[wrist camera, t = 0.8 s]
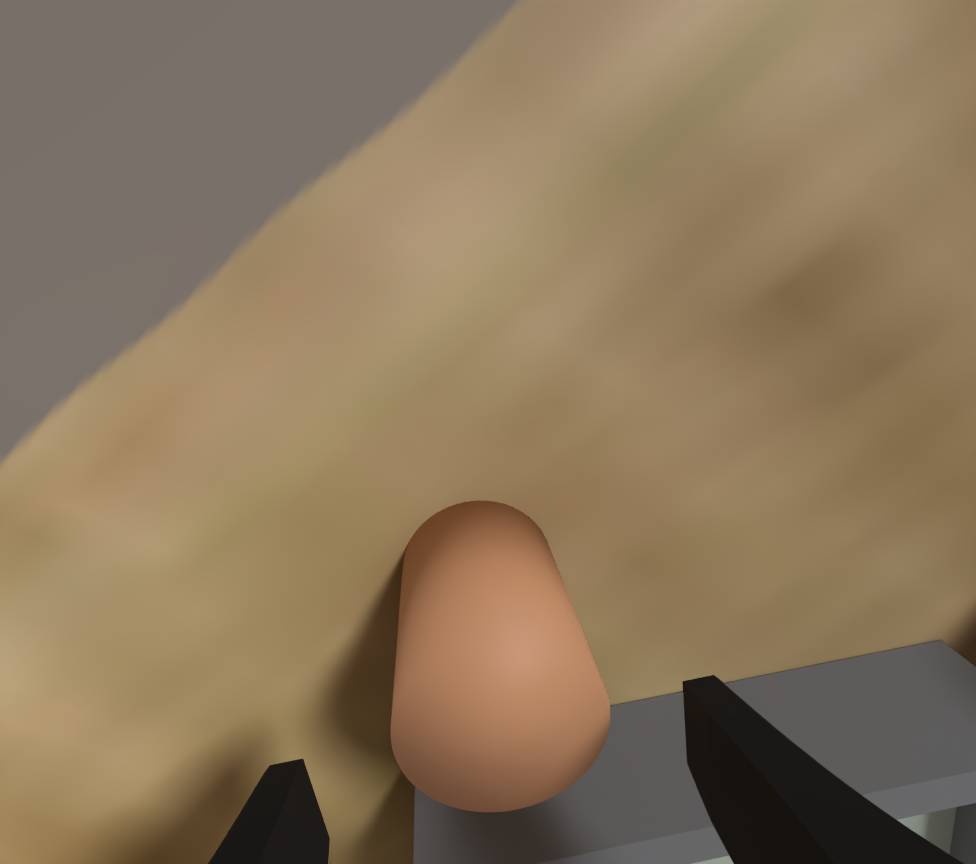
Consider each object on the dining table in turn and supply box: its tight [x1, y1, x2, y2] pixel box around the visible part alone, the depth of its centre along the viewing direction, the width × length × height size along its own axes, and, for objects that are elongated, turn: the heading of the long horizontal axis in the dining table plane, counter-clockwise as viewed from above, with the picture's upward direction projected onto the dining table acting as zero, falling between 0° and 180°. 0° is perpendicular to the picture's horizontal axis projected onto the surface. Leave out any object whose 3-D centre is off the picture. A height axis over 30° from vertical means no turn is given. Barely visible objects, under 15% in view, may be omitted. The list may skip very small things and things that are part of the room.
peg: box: [391, 501, 610, 812], centre depth 15 cm, size 4×4×6 cm
